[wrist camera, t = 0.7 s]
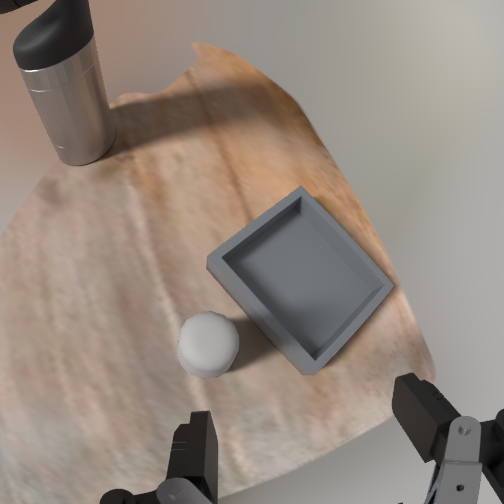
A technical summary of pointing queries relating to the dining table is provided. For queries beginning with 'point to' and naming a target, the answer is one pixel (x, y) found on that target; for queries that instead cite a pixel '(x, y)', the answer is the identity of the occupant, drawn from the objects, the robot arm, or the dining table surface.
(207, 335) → the salt shaker
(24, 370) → the dining table surface
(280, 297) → the tray
